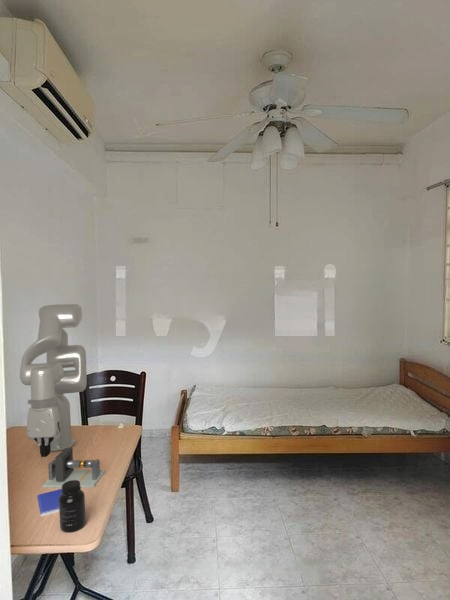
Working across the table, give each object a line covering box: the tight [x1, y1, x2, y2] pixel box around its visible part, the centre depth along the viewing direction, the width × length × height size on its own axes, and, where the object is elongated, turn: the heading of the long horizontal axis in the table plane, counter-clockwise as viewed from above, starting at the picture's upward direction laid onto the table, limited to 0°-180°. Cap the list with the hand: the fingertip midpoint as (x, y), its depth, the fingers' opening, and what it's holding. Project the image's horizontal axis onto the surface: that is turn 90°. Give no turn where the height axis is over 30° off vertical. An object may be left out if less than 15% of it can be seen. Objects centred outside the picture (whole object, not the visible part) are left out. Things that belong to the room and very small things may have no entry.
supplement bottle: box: [58, 480, 87, 533], centre depth 113 cm, size 7×7×12 cm
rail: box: [47, 458, 101, 480], centre depth 140 cm, size 16×4×6 cm, turn 87°
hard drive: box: [36, 488, 62, 517], centre depth 126 cm, size 2×8×12 cm
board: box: [41, 469, 106, 489], centre depth 141 cm, size 18×11×1 cm, turn 87°
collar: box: [54, 447, 74, 481], centre depth 141 cm, size 2×8×8 cm, turn 177°
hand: (45, 455), depth 140 cm, fingers closed
